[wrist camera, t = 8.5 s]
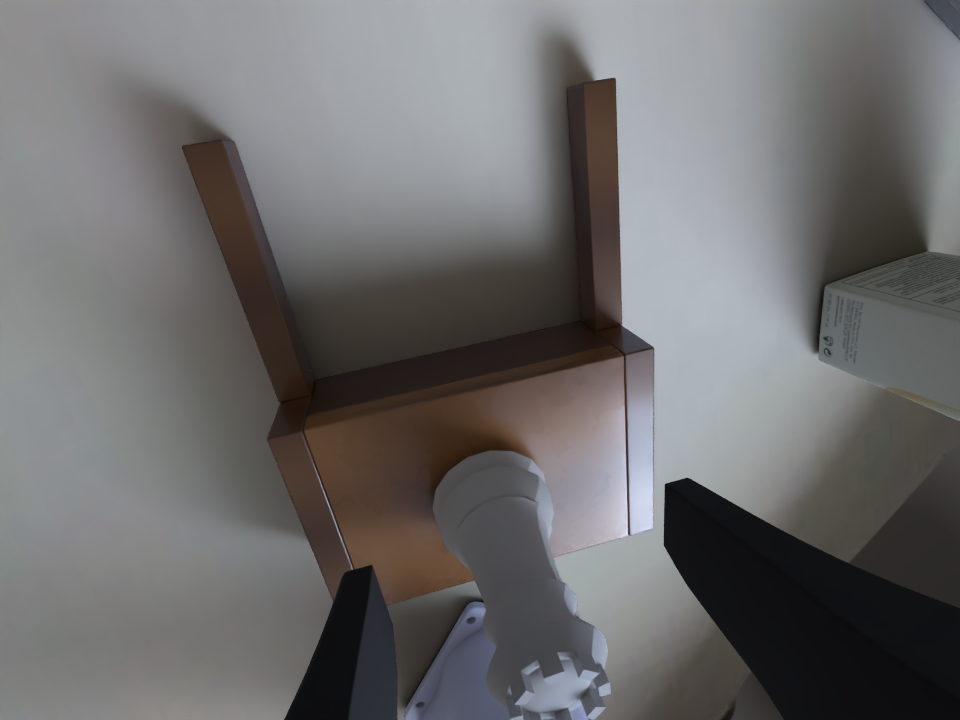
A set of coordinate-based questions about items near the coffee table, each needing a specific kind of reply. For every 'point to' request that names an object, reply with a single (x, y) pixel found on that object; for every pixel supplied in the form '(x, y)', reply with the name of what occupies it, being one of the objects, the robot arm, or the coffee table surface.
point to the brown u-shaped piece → (454, 393)
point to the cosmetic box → (899, 328)
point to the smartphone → (947, 13)
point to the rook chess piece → (521, 588)
